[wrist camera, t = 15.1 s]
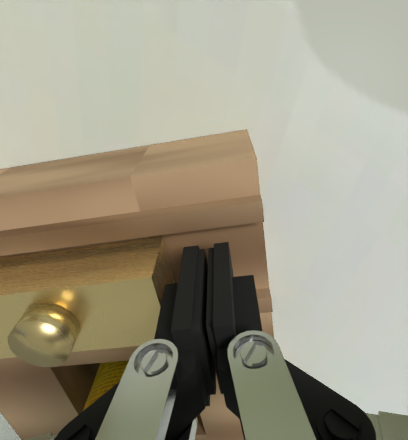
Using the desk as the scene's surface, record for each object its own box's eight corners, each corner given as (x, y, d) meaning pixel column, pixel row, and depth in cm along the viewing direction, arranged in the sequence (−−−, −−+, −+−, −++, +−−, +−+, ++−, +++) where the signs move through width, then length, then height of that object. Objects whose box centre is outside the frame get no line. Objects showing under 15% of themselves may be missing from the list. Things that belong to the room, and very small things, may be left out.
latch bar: (178, 295, 14) (168, 366, 11) (6, 314, 15) (-48, 385, 12) (162, 236, 13) (145, 299, 10) (-27, 261, 14) (-97, 326, 10)
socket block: (275, 400, 24) (295, 517, 18) (70, 414, 26) (27, 526, 20) (246, 129, 15) (267, 190, 9) (-73, 180, 16) (-236, 261, 11)
